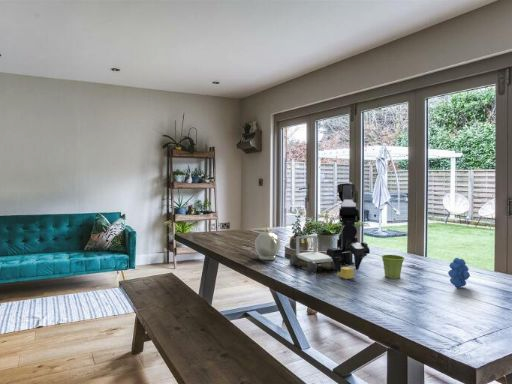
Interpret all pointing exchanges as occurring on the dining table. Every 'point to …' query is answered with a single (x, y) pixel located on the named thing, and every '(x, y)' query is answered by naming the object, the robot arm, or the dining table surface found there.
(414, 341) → the dining table surface
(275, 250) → the teapot
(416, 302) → the dining table surface
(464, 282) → the grapes
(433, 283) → the dining table surface
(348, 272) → the yellow step block
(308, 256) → the trolley
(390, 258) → the plant pot
